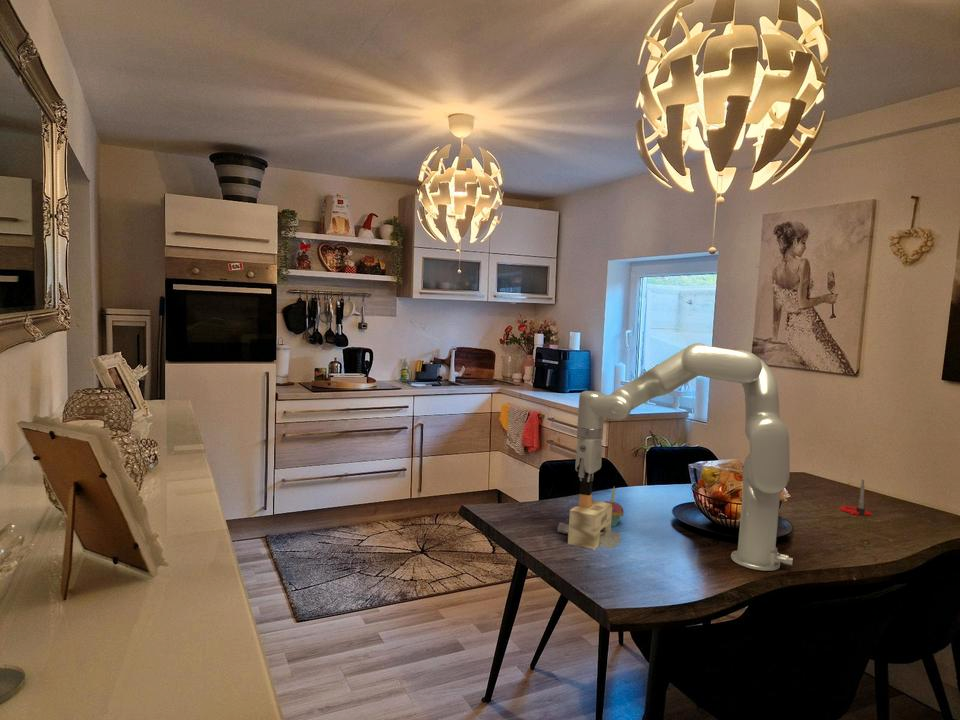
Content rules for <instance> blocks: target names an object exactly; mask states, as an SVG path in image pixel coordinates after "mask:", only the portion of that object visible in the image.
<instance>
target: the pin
mask: <svg viewBox="0 0 960 720" xmlns="http://www.w3.org/2000/svg"><path fill="white" fill-rule="evenodd" d="M568 532H569V523H568V524H567V523H563V522H559V524H558V525H557V533H558V534H561V535H562V534H563V535H567V536H568ZM620 536H621V532H616V531H608V530H607V531H606V532H604V533H603V532H600V544H599V546H600V547H604V548H607V549H612V550H613V549H615V548H616V547H617V546H618V545H620V543H621V542H620V541H621V537H620Z"/></svg>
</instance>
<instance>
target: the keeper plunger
mask: <svg viewBox="0 0 960 720" xmlns="http://www.w3.org/2000/svg"><path fill="white" fill-rule="evenodd" d="M592 500H593V493H592V494H591V495H589V496H588V495H584V494H580V493H579V501H578V505H579V506H580V507H585V508H590V507H591V504H592Z"/></svg>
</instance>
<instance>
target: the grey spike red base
mask: <svg viewBox="0 0 960 720" xmlns="http://www.w3.org/2000/svg"><path fill="white" fill-rule="evenodd" d="M864 497H865V479H861V483H860V489H859V501H858V507H856V506H851V505H850V506H849V505H841V506H839V510H840V511H842V512H846V513H849V514H850V515H851V514H852V515H853V516H863V515H864V516H868V515H869V516H871V515H872V513H871V511H867V509H866V508H864V504H865V503H864V502H865V501H864V499H865V498H864ZM853 509H855V510H853ZM869 516H868V517H869Z"/></svg>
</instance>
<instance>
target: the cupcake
mask: <svg viewBox="0 0 960 720" xmlns="http://www.w3.org/2000/svg"><path fill="white" fill-rule="evenodd" d="M615 491H616V489H615V486H613V488H612V495H611V500H610V501H604V502H605V503H610V504H612V518H611V527H616V526H617V524H618V523H619V521H620V518H621V517H623V516H624V513H625V512H624V507H622V505H621V504H619V503H618V502H615V501H614V498H615Z"/></svg>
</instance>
